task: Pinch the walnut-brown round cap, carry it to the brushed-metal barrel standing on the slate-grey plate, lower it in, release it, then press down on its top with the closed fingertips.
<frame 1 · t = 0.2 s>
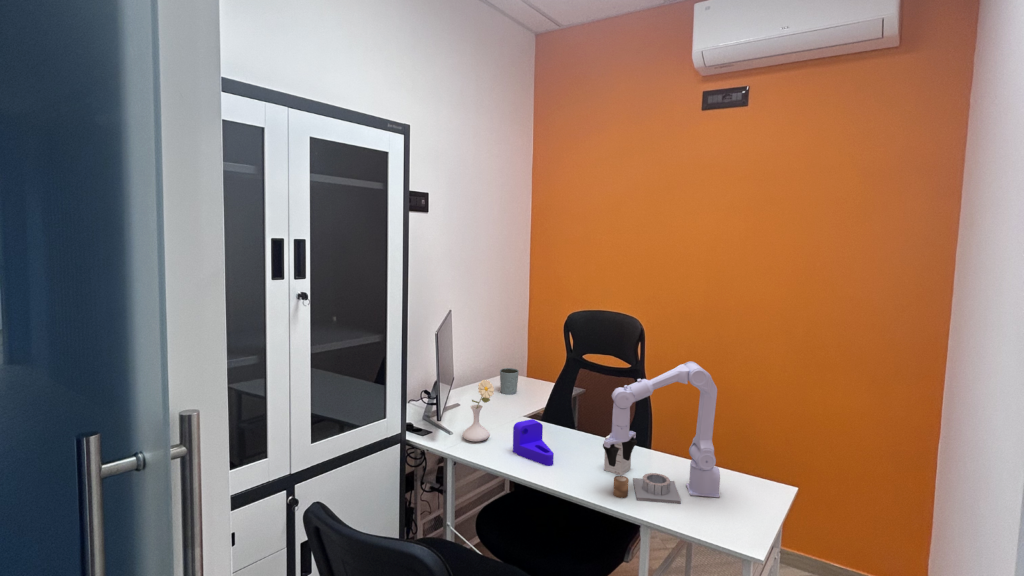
hand: (619, 462, 185), 9 cm above the table, tool pointing down, fingers open, 7 cm apart
green cylindrical pot: (508, 392, 292), on the table
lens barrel: (656, 484, 185), on the mount plate, point 3 cm above the table
bracket: (537, 457, 211), on the table
mount plate: (655, 491, 185), on the table
flower in vase: (478, 438, 228), on the table
supplement box: (617, 470, 201), on the table
walnut cap: (620, 494, 182), on the table
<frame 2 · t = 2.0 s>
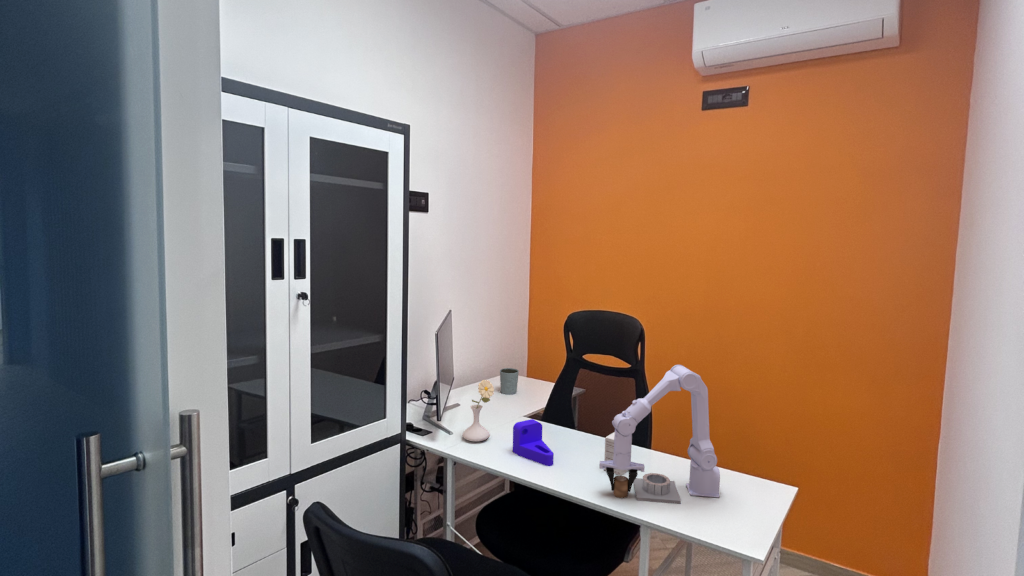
hand: (620, 489, 182), 2 cm above the table, tool pointing down, fingers closed on walnut cap, 5 cm apart
walnut cap: (620, 494, 182), on the table, touching gripper
everything else where it was.
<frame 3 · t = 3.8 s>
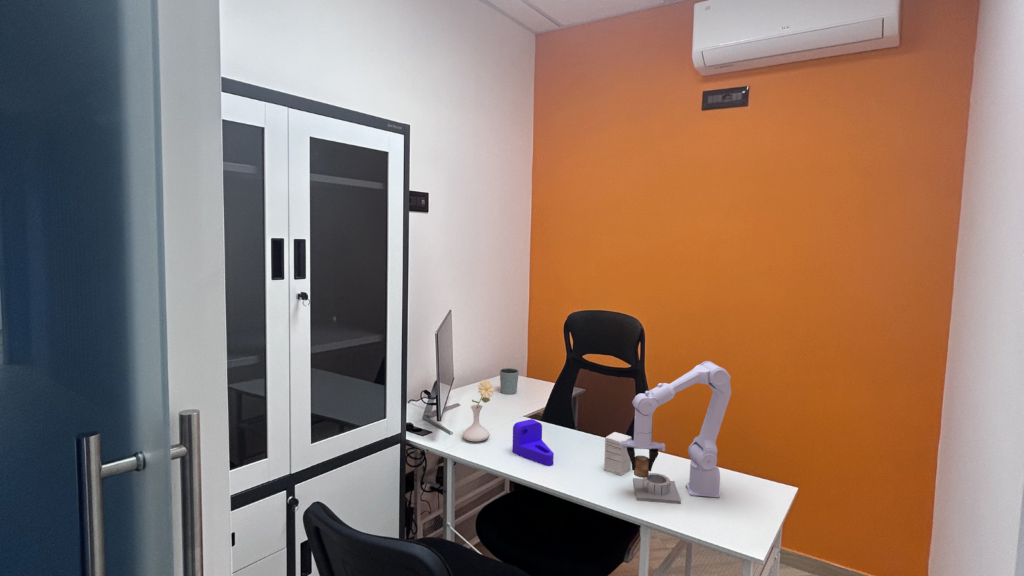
hand: (641, 469, 183), 8 cm above the table, tool pointing down, fingers closed on walnut cap, 5 cm apart
walnut cap: (641, 474, 183), point 7 cm above the table, touching gripper
everything else where it was.
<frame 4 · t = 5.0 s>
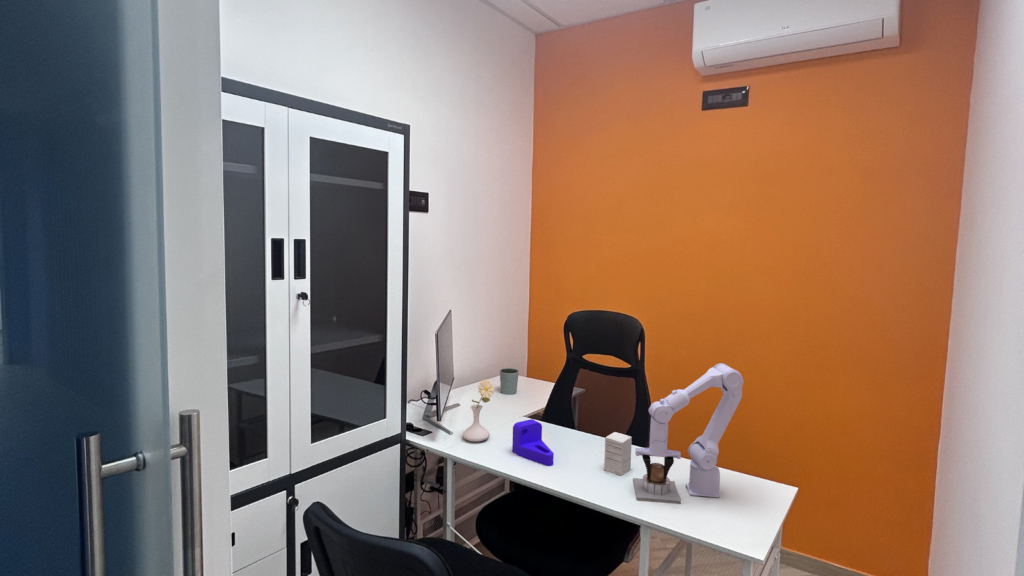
hand: (656, 477, 184), 5 cm above the table, tool pointing down, fingers closed on walnut cap, 5 cm apart
walnut cap: (656, 481, 184), point 4 cm above the table, touching gripper
everything else where it was.
when the fingers open (5 cm above the table, at t = 5.8 s): walnut cap drops 3 cm, resting on mount plate.
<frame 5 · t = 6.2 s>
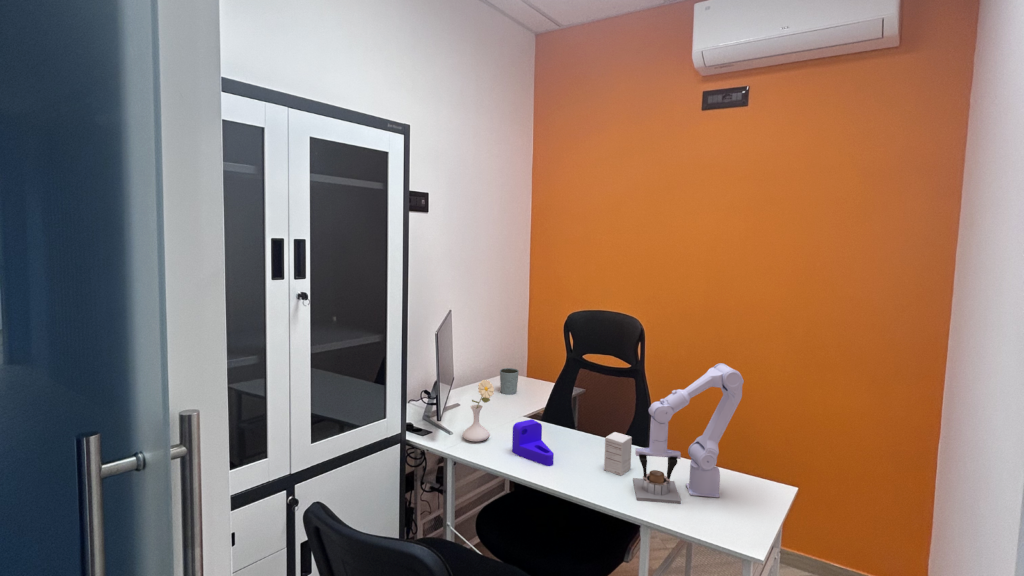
hand: (656, 477, 184), 5 cm above the table, tool pointing down, fingers open, 7 cm apart
walnut cap: (656, 488, 185), point 1 cm above the table, touching mount plate
everything else where it was.
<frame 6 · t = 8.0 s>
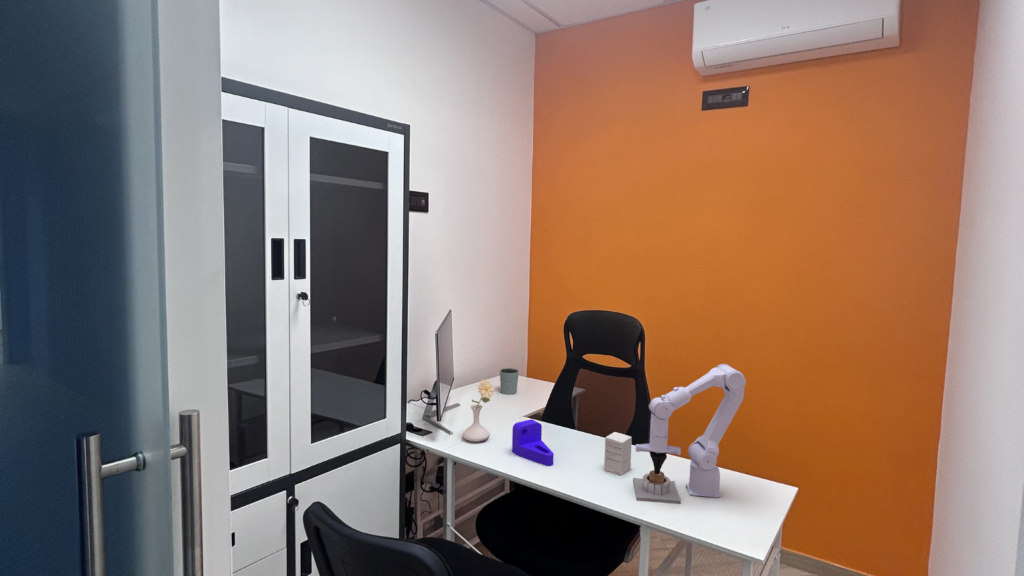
hand: (656, 473, 184), 7 cm above the table, tool pointing down, fingers closed, pressing on walnut cap
walnut cap: (656, 488, 185), point 1 cm above the table, touching gripper, mount plate
everything else where it was.
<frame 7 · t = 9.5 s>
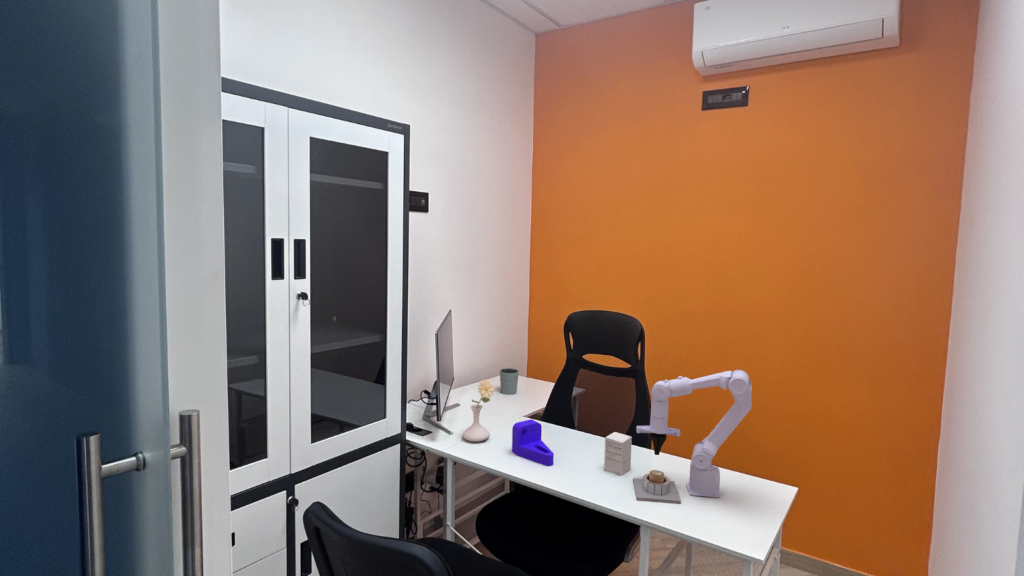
hand: (656, 453, 191), 10 cm above the table, tool pointing down, fingers closed
walnut cap: (656, 488, 185), point 1 cm above the table, touching mount plate
everything else where it was.
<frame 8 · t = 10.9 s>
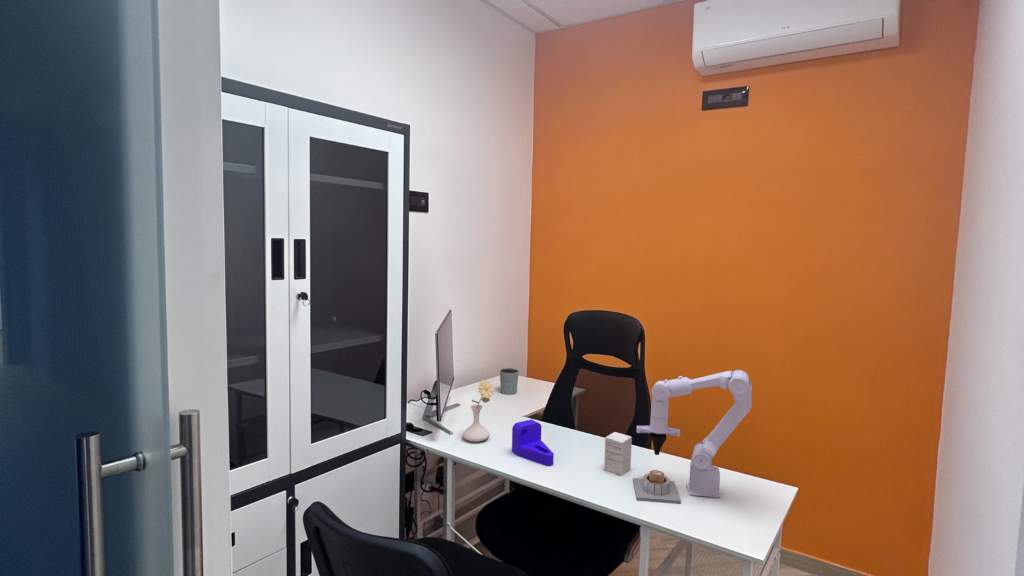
hand: (656, 453, 191), 10 cm above the table, tool pointing down, fingers closed
nothing on the table moved.
at the end: walnut cap 0.0 cm off-centre on the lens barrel, point 1.0 cm above the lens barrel's base; walnut cap tilted 0°; the gripper is holding nothing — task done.
